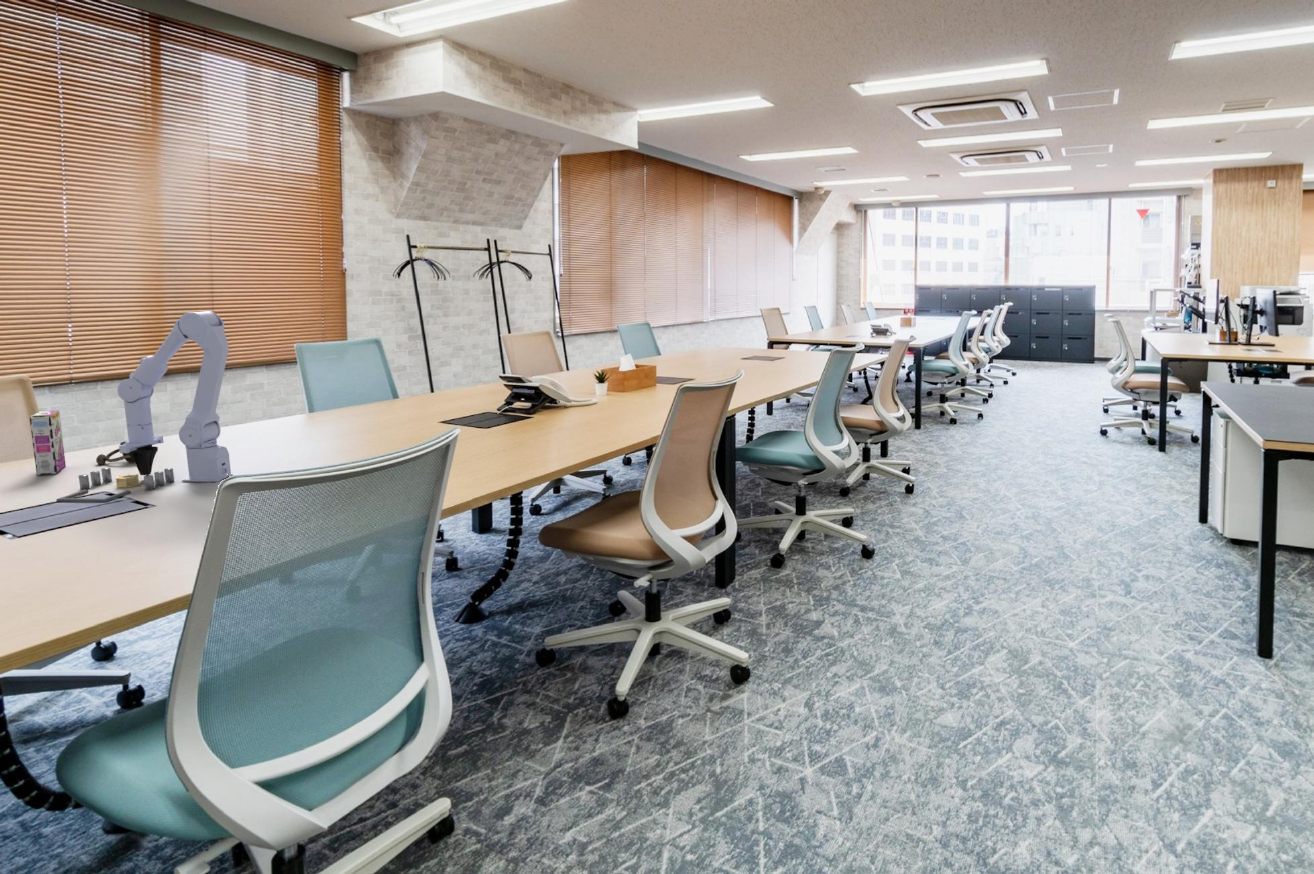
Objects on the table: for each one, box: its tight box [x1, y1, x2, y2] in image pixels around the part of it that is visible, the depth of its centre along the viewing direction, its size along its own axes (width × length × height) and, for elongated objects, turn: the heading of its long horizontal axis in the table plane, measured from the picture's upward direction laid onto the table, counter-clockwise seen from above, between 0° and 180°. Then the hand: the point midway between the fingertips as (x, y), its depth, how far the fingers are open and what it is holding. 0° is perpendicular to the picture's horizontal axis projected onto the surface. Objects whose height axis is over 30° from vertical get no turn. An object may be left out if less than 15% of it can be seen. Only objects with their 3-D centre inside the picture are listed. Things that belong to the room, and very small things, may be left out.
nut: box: [115, 473, 140, 489], centre depth 212 cm, size 5×5×2 cm
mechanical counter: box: [95, 440, 135, 466], centre depth 240 cm, size 7×13×10 cm
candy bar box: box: [28, 410, 67, 476], centre depth 228 cm, size 11×5×16 cm, turn 25°
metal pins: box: [78, 467, 175, 491], centre depth 212 cm, size 19×10×4 cm, turn 87°
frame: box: [56, 489, 132, 503], centre depth 200 cm, size 12×9×1 cm
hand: (145, 474), depth 219 cm, fingers closed
